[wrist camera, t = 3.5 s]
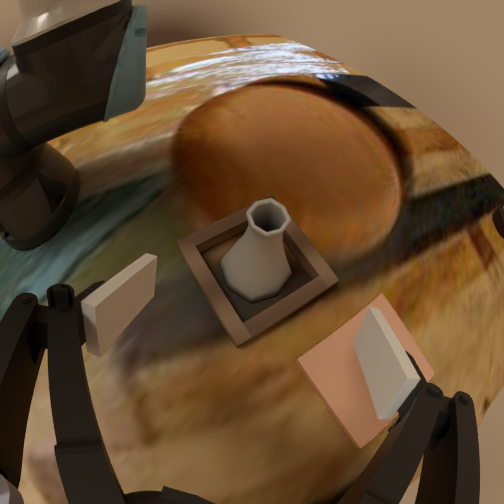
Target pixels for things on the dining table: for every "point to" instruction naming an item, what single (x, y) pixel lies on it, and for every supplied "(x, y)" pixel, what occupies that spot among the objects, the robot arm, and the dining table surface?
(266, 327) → the walnut holder
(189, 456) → the dining table surface
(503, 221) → the coffee mug
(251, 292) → the flask
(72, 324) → the robot arm
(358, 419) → the terracotta coaster
